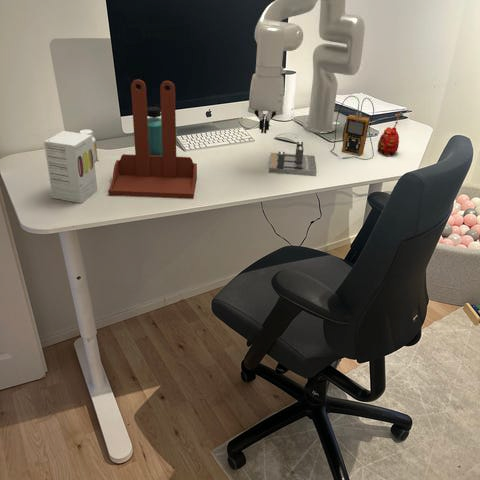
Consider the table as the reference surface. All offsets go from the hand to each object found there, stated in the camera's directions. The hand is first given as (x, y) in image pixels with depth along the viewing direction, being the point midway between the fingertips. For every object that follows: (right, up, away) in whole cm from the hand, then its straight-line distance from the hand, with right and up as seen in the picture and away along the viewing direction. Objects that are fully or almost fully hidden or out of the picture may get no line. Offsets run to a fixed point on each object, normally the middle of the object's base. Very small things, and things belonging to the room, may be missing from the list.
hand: (263, 131), depth 160 cm
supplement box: (-54, -21, -13) cm, 59 cm away
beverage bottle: (-34, -12, +4) cm, 36 cm away
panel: (+10, -9, +11) cm, 17 cm away
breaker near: (+6, -10, +6) cm, 13 cm away
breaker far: (+12, -5, +14) cm, 20 cm away
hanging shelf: (-33, -18, -6) cm, 38 cm away
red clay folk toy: (+45, -3, +25) cm, 52 cm away
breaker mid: (+12, -8, +10) cm, 17 cm away
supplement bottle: (-56, -8, +8) cm, 57 cm away
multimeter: (+31, -5, +20) cm, 37 cm away
